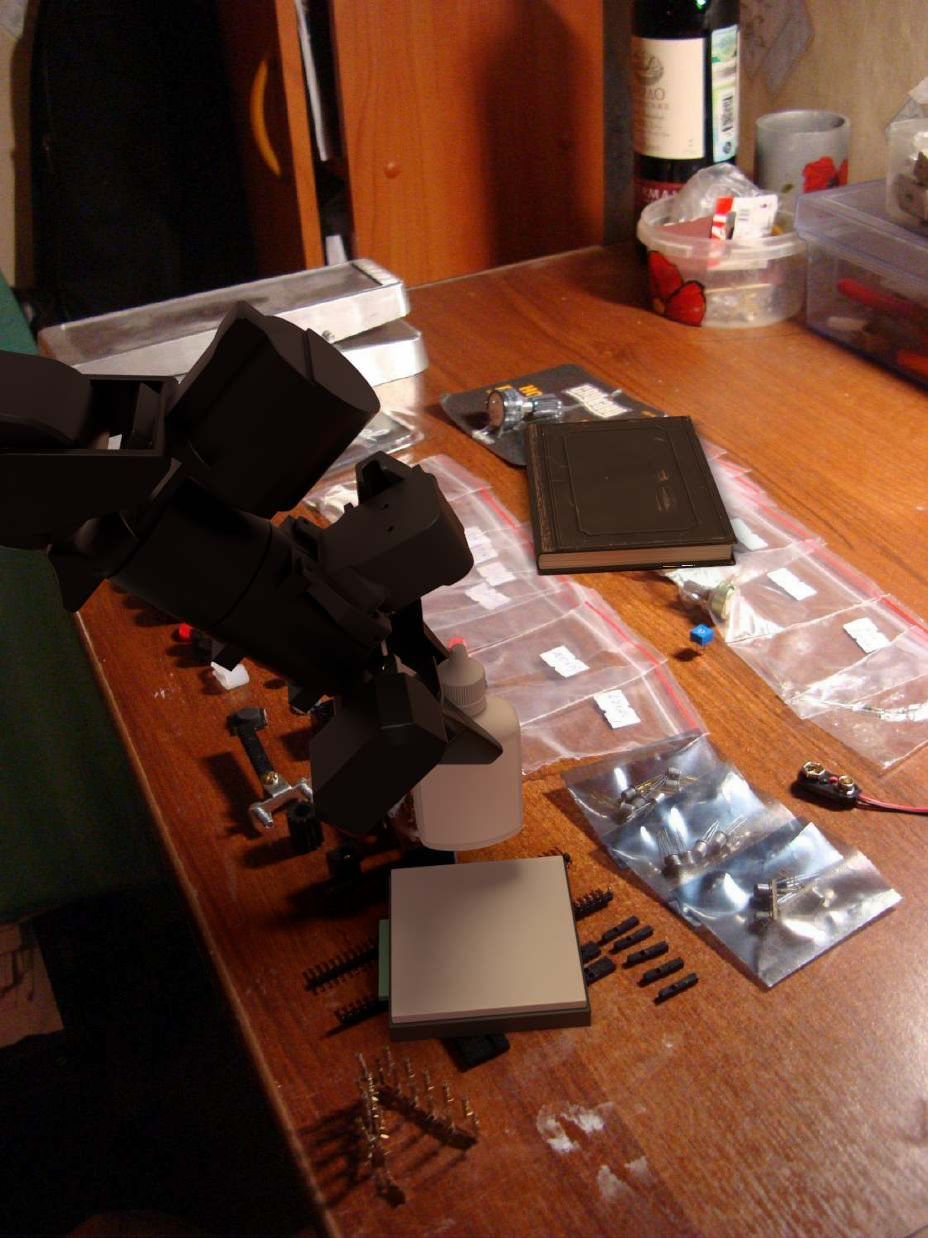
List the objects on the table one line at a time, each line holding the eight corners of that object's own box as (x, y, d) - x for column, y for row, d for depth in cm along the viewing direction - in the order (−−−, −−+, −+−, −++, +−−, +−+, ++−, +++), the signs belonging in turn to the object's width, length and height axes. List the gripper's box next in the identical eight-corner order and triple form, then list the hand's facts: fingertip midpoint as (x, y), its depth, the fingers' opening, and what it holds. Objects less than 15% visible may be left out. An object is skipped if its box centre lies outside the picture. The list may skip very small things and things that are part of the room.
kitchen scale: (381, 1058, 58) (375, 1021, 56) (382, 903, 66) (376, 867, 64) (590, 1040, 58) (591, 1003, 56) (566, 888, 66) (565, 852, 64)
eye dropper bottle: (508, 869, 59) (501, 685, 52) (406, 846, 60) (385, 665, 53) (532, 810, 62) (528, 630, 55) (434, 790, 64) (419, 613, 57)
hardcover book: (688, 436, 111) (690, 414, 110) (735, 564, 92) (737, 540, 91) (523, 446, 112) (522, 424, 110) (536, 575, 93) (536, 551, 91)
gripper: (369, 559, 40) (662, 752, 47) (333, 355, 55) (559, 526, 62) (182, 761, 43) (481, 911, 51) (197, 518, 59) (426, 661, 66)
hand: (490, 731), depth 57 cm, fingers closed on eye dropper bottle, 3 cm apart
